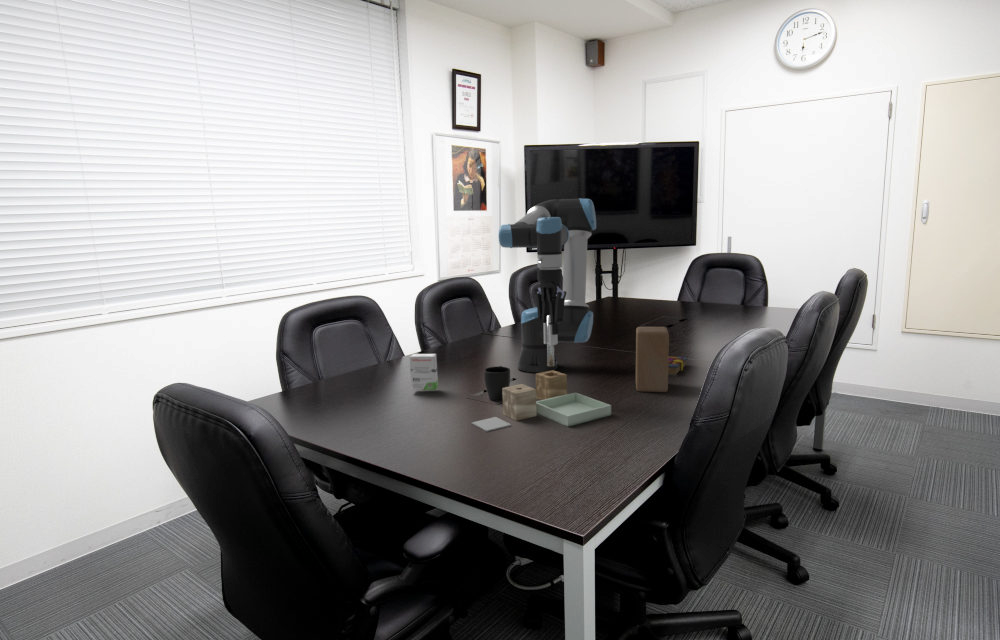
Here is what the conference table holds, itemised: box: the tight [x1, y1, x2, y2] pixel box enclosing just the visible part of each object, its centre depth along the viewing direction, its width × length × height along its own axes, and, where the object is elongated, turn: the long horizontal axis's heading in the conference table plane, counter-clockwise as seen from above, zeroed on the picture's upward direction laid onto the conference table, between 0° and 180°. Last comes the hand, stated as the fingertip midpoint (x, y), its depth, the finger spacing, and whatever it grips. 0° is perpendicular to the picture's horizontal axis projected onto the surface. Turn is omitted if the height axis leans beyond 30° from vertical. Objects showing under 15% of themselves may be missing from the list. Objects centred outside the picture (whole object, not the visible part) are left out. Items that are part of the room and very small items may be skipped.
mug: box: [483, 365, 511, 402], centre depth 192 cm, size 8×12×10 cm
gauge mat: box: [471, 416, 512, 433], centre depth 166 cm, size 8×8×1 cm
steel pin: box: [547, 315, 555, 367], centre depth 185 cm, size 2×2×16 cm
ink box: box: [409, 353, 439, 391], centre depth 204 cm, size 9×5×12 cm, turn 85°
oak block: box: [535, 370, 568, 401], centre depth 188 cm, size 7×7×8 cm
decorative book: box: [668, 355, 688, 377], centre depth 218 cm, size 11×16×5 cm
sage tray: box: [536, 392, 612, 428], centre depth 174 cm, size 16×16×3 cm
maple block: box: [502, 383, 537, 422], centre depth 173 cm, size 7×7×8 cm
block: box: [635, 326, 670, 393], centre depth 195 cm, size 10×10×20 cm
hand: (550, 343), depth 186 cm, fingers closed on steel pin, 2 cm apart
